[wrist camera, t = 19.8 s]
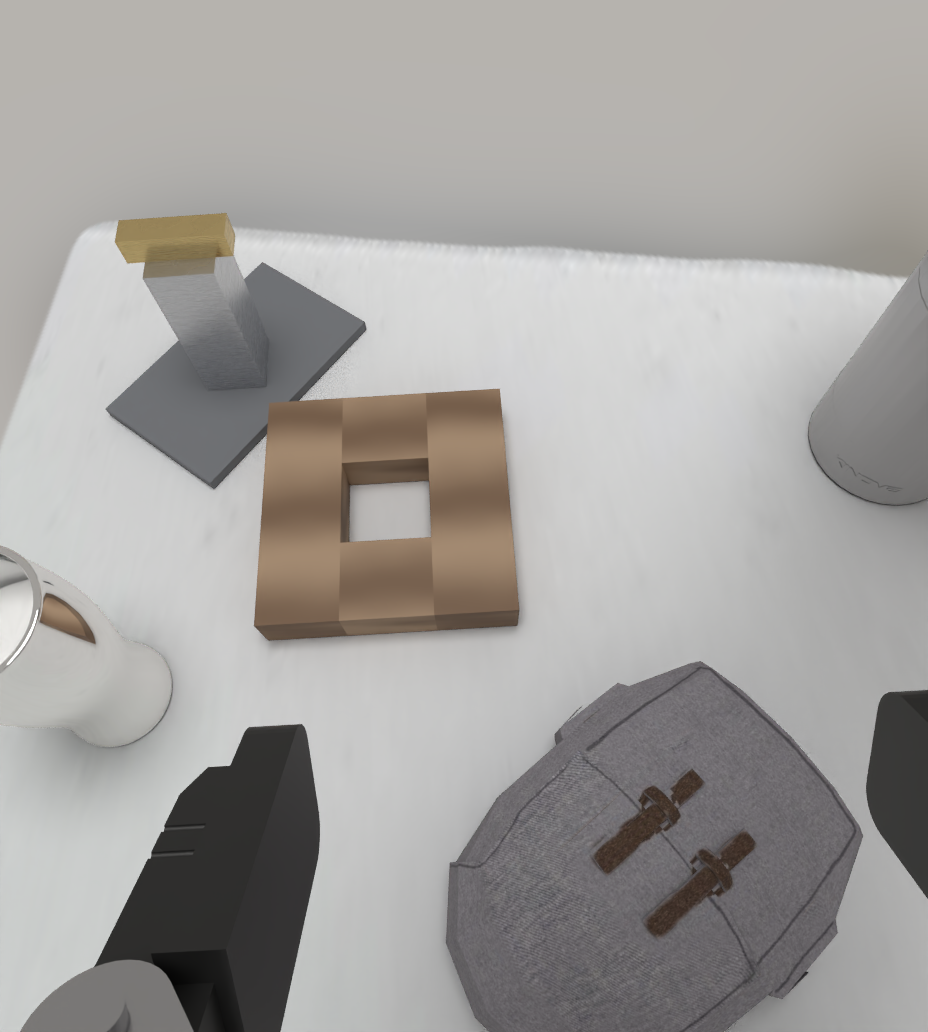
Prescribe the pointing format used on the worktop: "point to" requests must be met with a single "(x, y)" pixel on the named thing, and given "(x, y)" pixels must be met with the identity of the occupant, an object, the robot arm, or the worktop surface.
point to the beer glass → (72, 661)
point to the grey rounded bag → (651, 868)
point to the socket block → (385, 563)
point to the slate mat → (239, 412)
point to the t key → (201, 295)
